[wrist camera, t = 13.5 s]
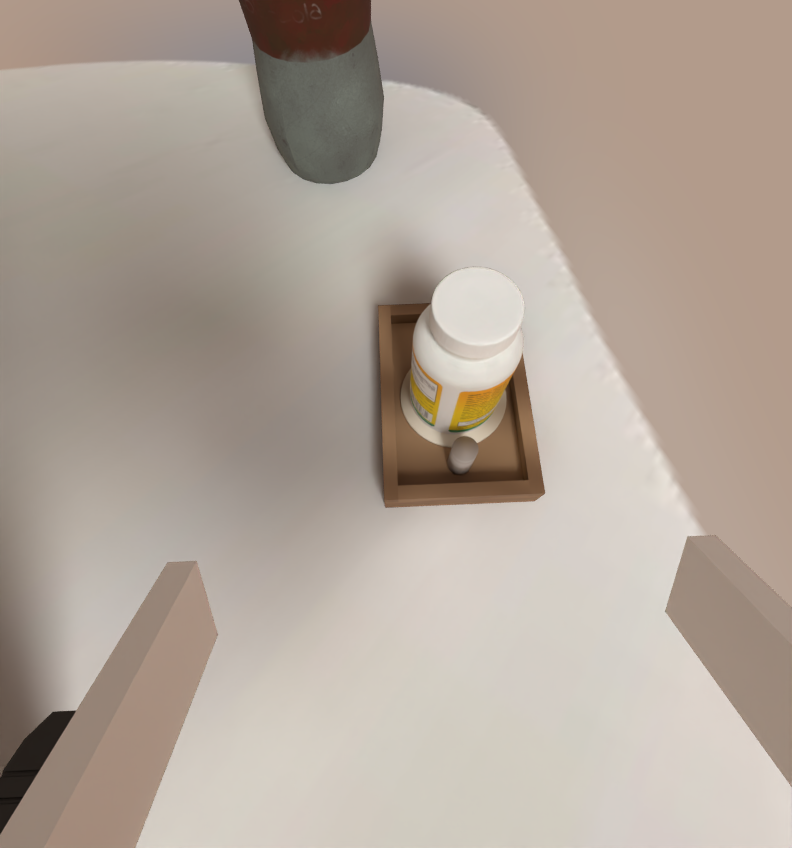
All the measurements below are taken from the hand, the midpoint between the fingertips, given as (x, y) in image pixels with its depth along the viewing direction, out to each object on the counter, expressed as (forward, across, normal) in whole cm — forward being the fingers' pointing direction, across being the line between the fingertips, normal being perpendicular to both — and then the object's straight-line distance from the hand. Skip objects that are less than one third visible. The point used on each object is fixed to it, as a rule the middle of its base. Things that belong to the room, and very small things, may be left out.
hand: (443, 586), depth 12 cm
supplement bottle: (+17, +3, -1) cm, 17 cm away
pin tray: (+18, +3, -2) cm, 18 cm away
